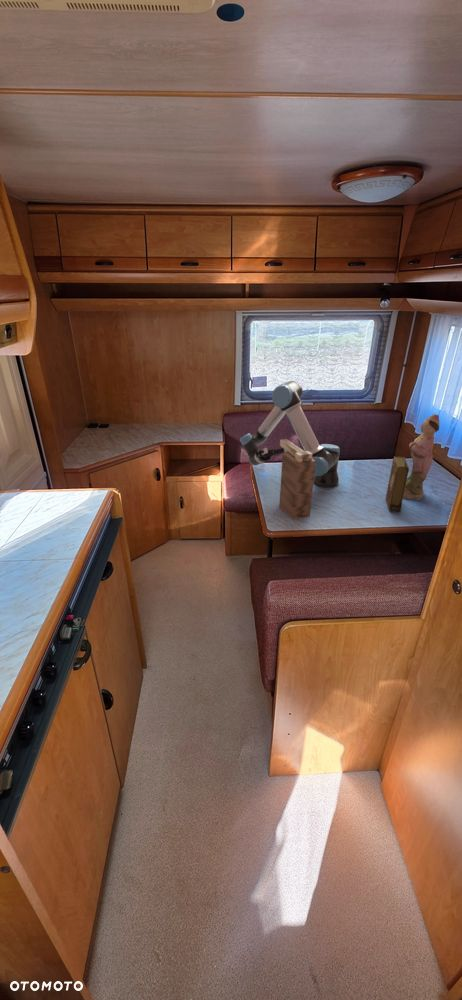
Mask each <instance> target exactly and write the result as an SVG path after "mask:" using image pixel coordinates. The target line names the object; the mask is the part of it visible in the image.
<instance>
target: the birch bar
mask: <svg viewBox="0 0 462 1000" xmlns="http://www.w3.org/2000/svg"><path fill="white" fill-rule="evenodd" d="M279 446H280V447H281V448H284V449H285V450H286V451H288V452H289V453H291V454H292V455H293V456H295V460H297V461H298V462H304V461H312V453H311V452H309V451H305V450H304V449H302V448H301V447H299V446H297V445H296V444H295V443H293V442H292V441H290V440H289V439H287V438H282V439H280V441H279Z"/></svg>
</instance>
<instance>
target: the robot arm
mask: <svg viewBox="0 0 462 1000" xmlns="http://www.w3.org/2000/svg"><path fill="white" fill-rule="evenodd" d="M303 392H304V391H303V386H302V385H301V384H300V382H298V381H296V380H289V381H287V382H284V383H281V384H279V385H277V386H276V387H275V388H274V390H273V391H272V395H271V399H272V402H273V403H272V404H273V405H274V407H273V408H272V410H271V411H270V412H269V414H268V415H267V416H266V418H265V419H264V421H262V423H261V424H260V426H259V427H258V429H257V430H256V431H255V433H253V434H251V433H246V434H245V435H243V436H241V437H240V439H239V441H240V443H241V446H242V447H243V449H244V450H245V452H246V454H247V456H248V458H247V459H248V463H249V464H250V465H251V466H258V465H261V464H262V465H263V464H264V463H266V462H268V461H270V460H271V459H272V457H274V456H279V455H283V453H286V452H288V451H286V450H285V449H284V448H282V447H281V448H278V449H276V448H275V449H269V448H268V447H264V448H262V449H260V448H259V446H260V445H262V444H264V443H265V442H267V440H268V437H269V435H270V434H271V433H272V431H273V430H274V429H275V428H276V427H277V425H279V423H280V421H281V420H282V419H283V418H284V416H287V418H288V420H289V423H290V424H291V425H292V428H293V430H294V432H295V434H296V436H297V438H298V441H300V444H301V446H302V448H303V450H304V451H309V452H311V453H312V459H314V460H315V461H316V463H315V472H314V482H313V485H316V486H319V487H322V488H333V487H337V486H338V485H339V481H340V479H339V474H338V467H339V458H340V453H341V451H340V450H341V449H340V447H339V446H338V445H336V444H329V443H322V444H320V443H319V441H318V439H317V437H316V435H315V433H314V431H313V428H312V427H311V425H310V423H309V421H308V419H307V417H306V414H305V413H304V411H303V409H302V407H301V405H302V400H301V398H302V397H303Z"/></svg>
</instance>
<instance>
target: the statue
mask: <svg viewBox="0 0 462 1000" xmlns="http://www.w3.org/2000/svg"><path fill="white" fill-rule="evenodd" d="M440 426H441V425H440V416H439V415H438V414H431V415H430V416H429V417H427V418H425V419H424V420H423V422H422V423H421V424H420V431H421V434H420V435H419V436H418V437H417V438H415V439H414V441H411V442H409V444H408V447H409V449H410V456H411V458H412V460H411V461H412V467H411V471H410V475H408V476H407V481H406V486H405V491H404V495H403V499H405V498H407V500H413V499H416V500H420V498H421V499H422V498H423V497H424V493H425V492H424V489H423V487H424V486H423V484H424V482H425V480H426V479H427V476H428V474H429V472H430V469H431V466H432V463H433V458H434V455H433V448H434V444H435V433H437V432H438V431H439V430H440Z"/></svg>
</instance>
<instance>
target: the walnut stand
mask: <svg viewBox="0 0 462 1000" xmlns="http://www.w3.org/2000/svg"><path fill="white" fill-rule="evenodd" d="M281 459H282V461H281V471H280V473H281V475H280V486H279V487H280V488H279V489H280V490H279V504H278V506H279V508H281V510H283V512H285V513H286V514H287V516H289V517H290V518H291V520H295V519H300V518H305V517H311V512H312V511H311V510H312V499H313V489H314V483H313V482H314V472H315V463H316V461H315V460H314V459H312V461H304V462H298V461H297V460H295V456H293V455H292V454H291V453H289V452H286V453H282V458H281Z"/></svg>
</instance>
